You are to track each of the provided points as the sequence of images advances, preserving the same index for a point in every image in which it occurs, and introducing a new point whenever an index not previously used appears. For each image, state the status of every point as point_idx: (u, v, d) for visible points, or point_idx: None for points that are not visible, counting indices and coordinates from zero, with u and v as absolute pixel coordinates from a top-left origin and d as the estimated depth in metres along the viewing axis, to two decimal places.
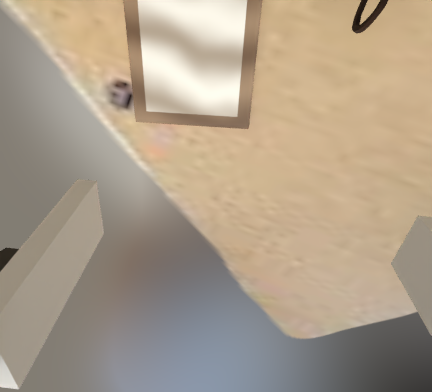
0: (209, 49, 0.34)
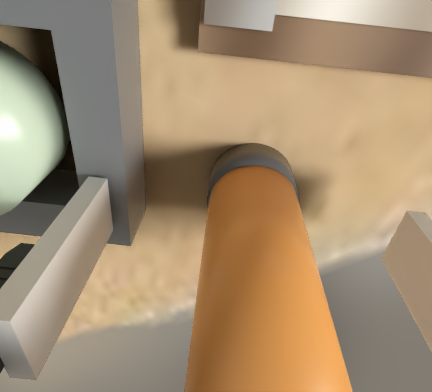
0: None
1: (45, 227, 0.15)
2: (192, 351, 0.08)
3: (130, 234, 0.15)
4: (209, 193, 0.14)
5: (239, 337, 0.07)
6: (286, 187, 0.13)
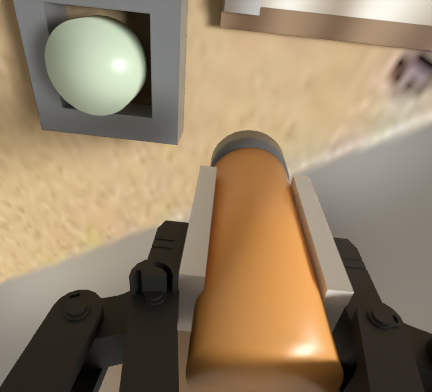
0: None
1: (128, 132, 0.25)
2: None
3: (177, 137, 0.25)
4: None
5: (236, 266, 0.09)
6: (277, 165, 0.15)
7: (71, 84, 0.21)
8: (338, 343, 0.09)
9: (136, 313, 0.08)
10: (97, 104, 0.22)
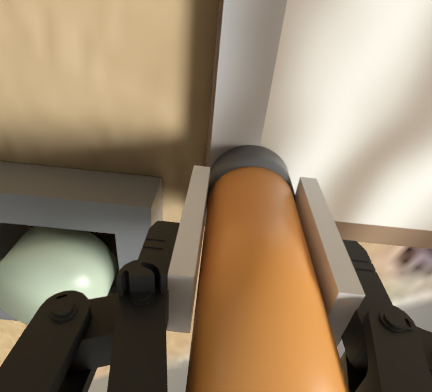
0: (420, 94, 0.14)
1: None
2: (193, 346, 0.08)
3: None
4: None
5: (237, 332, 0.07)
6: (282, 187, 0.13)
7: (22, 308, 0.18)
8: (349, 346, 0.09)
9: (124, 314, 0.08)
10: None
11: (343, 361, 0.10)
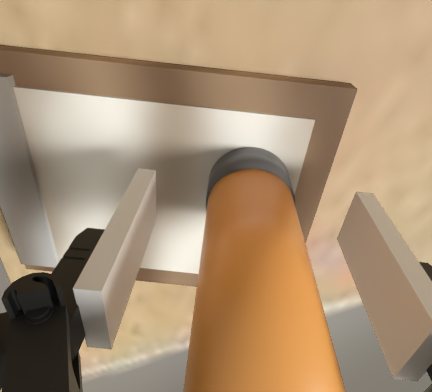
0: (158, 171, 0.16)
1: None
2: (191, 349, 0.08)
3: None
4: (207, 196, 0.15)
5: (235, 336, 0.07)
6: (282, 190, 0.13)
7: None
8: None
9: (17, 337, 0.07)
10: None
11: None
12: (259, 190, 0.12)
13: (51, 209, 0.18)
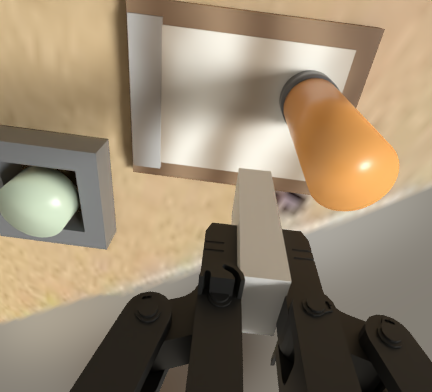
0: (246, 88, 0.24)
1: (67, 240, 0.32)
2: (304, 138, 0.16)
3: (106, 244, 0.32)
4: (284, 99, 0.22)
5: (332, 119, 0.15)
6: (337, 88, 0.21)
7: (17, 218, 0.28)
8: (280, 335, 0.10)
9: (202, 312, 0.08)
10: (38, 230, 0.29)
11: (276, 351, 0.10)
12: (325, 85, 0.20)
13: (165, 119, 0.26)
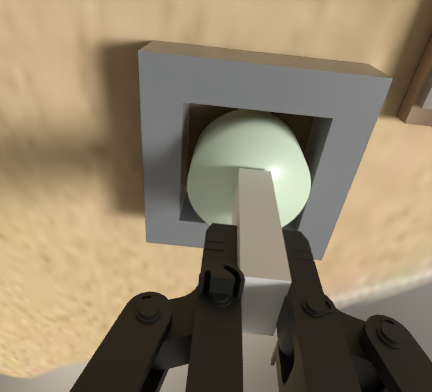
0: None
1: None
2: None
3: (323, 251, 0.19)
4: None
5: None
6: None
7: (216, 203, 0.16)
8: (280, 335, 0.10)
9: (202, 313, 0.08)
10: None
11: (276, 351, 0.10)
12: None
13: None
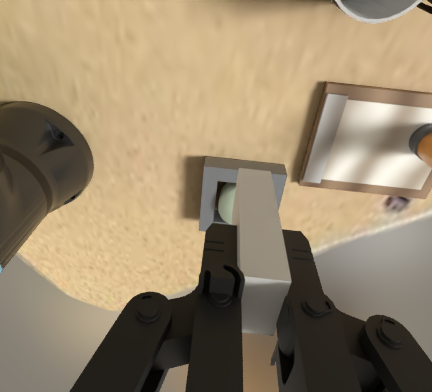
0: (389, 134, 0.39)
1: None
2: None
3: None
4: (419, 142, 0.37)
5: None
6: None
7: (228, 213, 0.44)
8: (280, 336, 0.10)
9: (202, 312, 0.08)
10: None
11: (276, 351, 0.10)
12: None
13: (332, 152, 0.41)
